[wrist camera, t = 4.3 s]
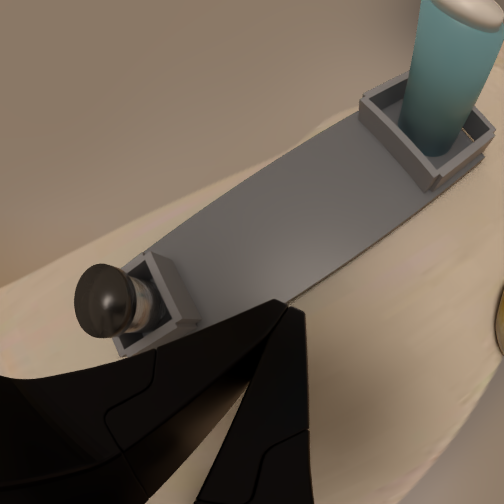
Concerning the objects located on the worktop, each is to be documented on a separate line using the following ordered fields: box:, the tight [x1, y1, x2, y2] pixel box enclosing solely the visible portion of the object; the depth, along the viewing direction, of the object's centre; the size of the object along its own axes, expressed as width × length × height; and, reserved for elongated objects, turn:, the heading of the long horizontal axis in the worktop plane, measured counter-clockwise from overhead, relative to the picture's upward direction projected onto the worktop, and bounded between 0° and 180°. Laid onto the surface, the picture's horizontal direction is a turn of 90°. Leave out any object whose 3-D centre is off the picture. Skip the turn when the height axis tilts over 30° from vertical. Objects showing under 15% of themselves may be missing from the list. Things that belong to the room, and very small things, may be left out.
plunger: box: [74, 264, 172, 338], centre depth 18 cm, size 4×4×6 cm
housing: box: [112, 70, 496, 357], centre depth 19 cm, size 32×9×4 cm, turn 122°
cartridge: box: [398, 0, 504, 157], centre depth 13 cm, size 5×5×13 cm
